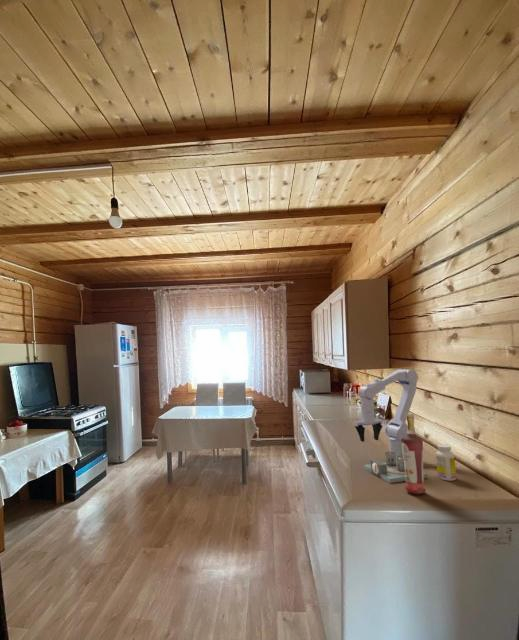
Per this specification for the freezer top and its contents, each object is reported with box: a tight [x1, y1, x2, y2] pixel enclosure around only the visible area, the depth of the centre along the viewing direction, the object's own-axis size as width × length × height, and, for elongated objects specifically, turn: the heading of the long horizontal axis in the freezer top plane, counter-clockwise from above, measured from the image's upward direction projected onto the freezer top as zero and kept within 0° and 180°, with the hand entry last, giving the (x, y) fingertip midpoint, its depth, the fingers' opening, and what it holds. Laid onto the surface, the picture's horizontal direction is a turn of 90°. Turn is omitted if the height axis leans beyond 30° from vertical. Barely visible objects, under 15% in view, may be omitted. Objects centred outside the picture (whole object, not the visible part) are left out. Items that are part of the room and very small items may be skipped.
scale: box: [363, 459, 428, 484], centre depth 144 cm, size 18×18×5 cm
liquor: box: [401, 413, 427, 496], centre depth 125 cm, size 7×7×28 cm
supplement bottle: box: [435, 443, 457, 482], centre depth 137 cm, size 7×7×13 cm
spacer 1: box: [384, 451, 396, 466], centre depth 148 cm, size 4×4×5 cm
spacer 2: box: [397, 456, 405, 472], centre depth 141 cm, size 4×4×5 cm
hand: (369, 440), depth 160 cm, fingers open, 7 cm apart
